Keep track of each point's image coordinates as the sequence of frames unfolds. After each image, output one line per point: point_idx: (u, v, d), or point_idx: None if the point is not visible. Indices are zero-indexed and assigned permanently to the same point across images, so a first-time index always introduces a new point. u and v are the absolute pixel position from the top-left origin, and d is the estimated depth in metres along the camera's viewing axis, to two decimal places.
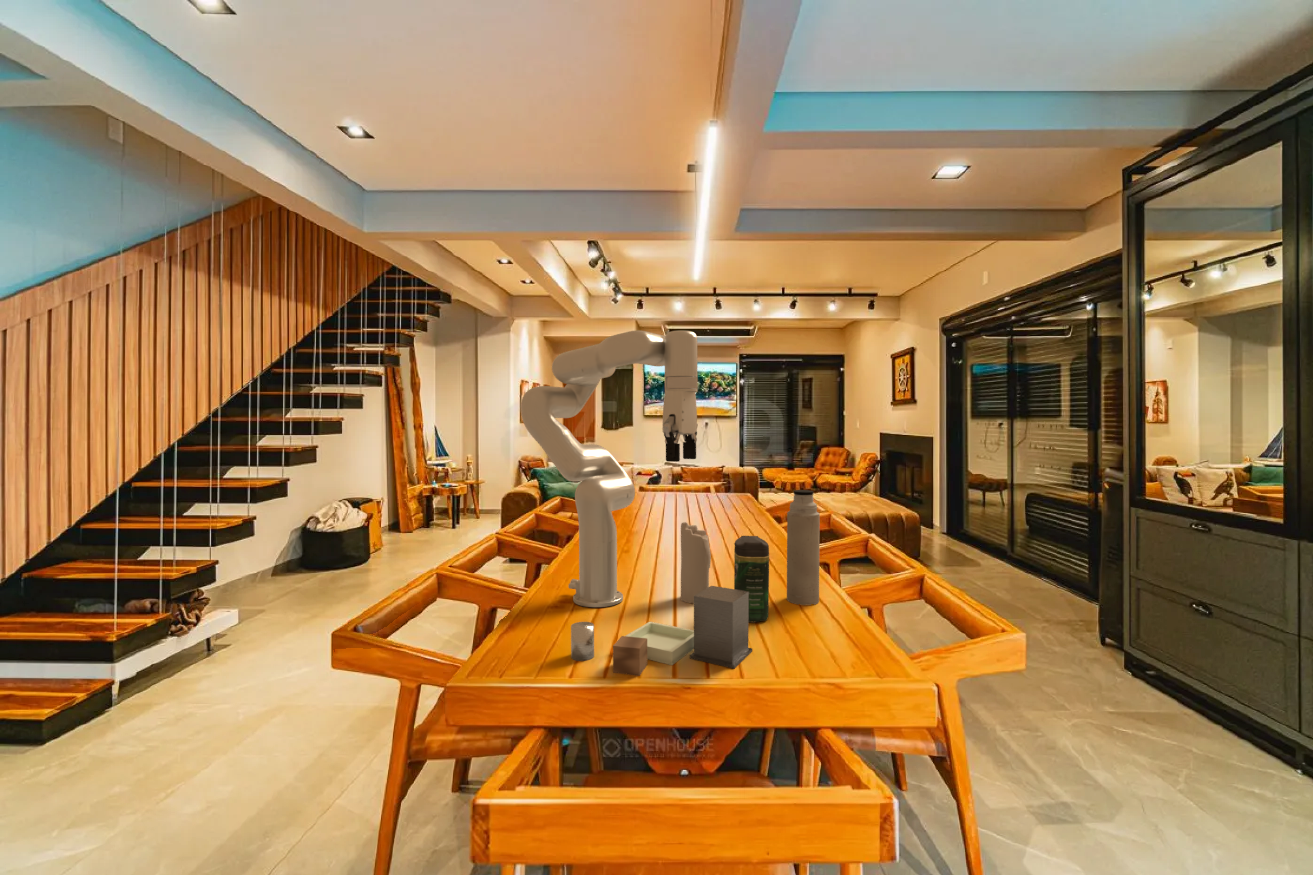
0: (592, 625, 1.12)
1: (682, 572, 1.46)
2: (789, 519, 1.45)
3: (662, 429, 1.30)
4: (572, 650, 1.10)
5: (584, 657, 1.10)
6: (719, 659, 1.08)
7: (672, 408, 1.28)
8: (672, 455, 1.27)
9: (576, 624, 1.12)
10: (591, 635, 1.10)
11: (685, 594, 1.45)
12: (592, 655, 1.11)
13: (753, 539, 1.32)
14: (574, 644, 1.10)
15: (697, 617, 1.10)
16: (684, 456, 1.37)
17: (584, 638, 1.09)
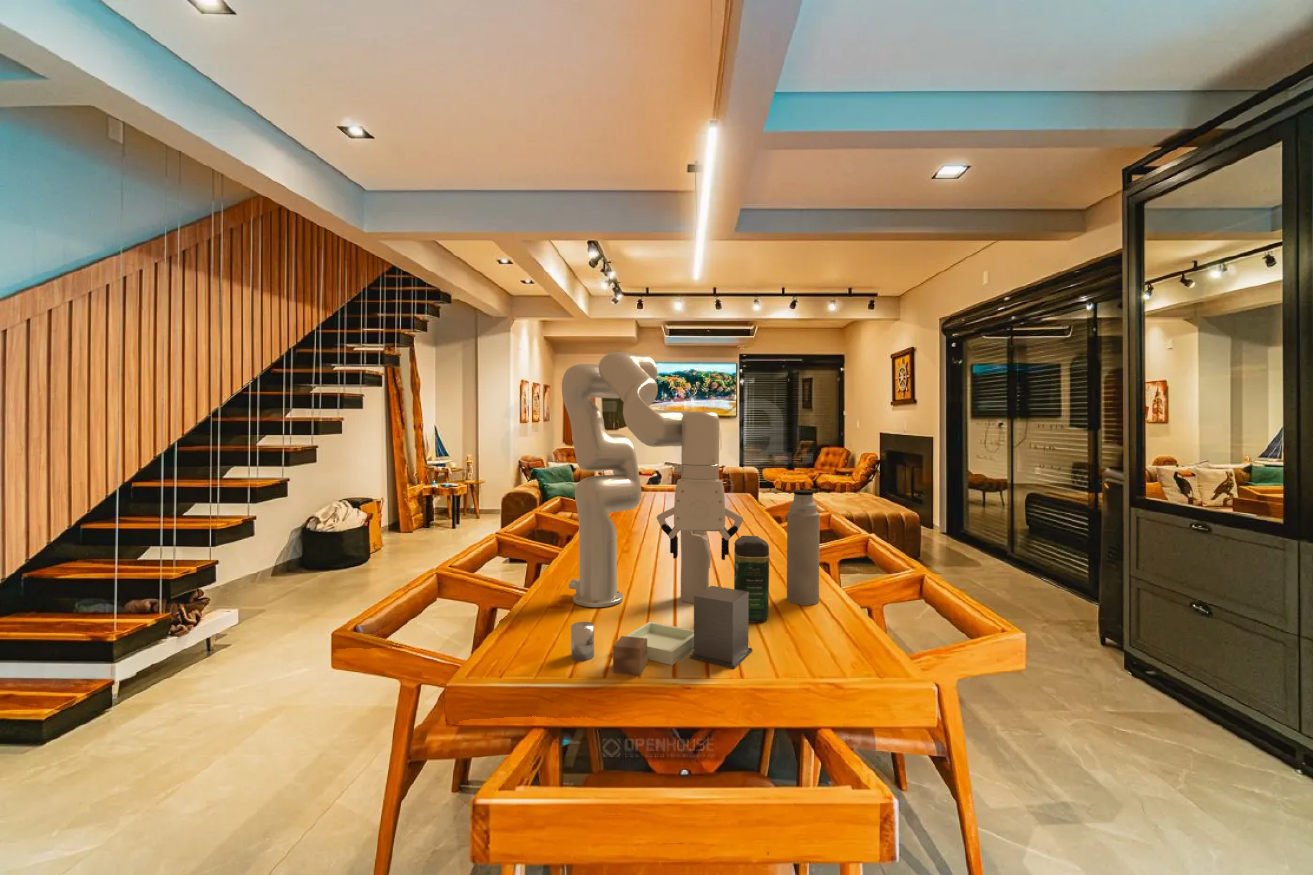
0: (592, 625, 1.12)
1: (682, 572, 1.46)
2: (789, 519, 1.45)
3: (722, 525, 1.13)
4: (572, 650, 1.10)
5: (584, 657, 1.10)
6: (719, 659, 1.08)
7: None
8: None
9: (576, 624, 1.12)
10: (591, 635, 1.10)
11: (685, 594, 1.45)
12: (592, 655, 1.11)
13: (753, 539, 1.32)
14: (574, 644, 1.10)
15: (697, 617, 1.10)
16: (676, 555, 1.16)
17: (584, 638, 1.09)
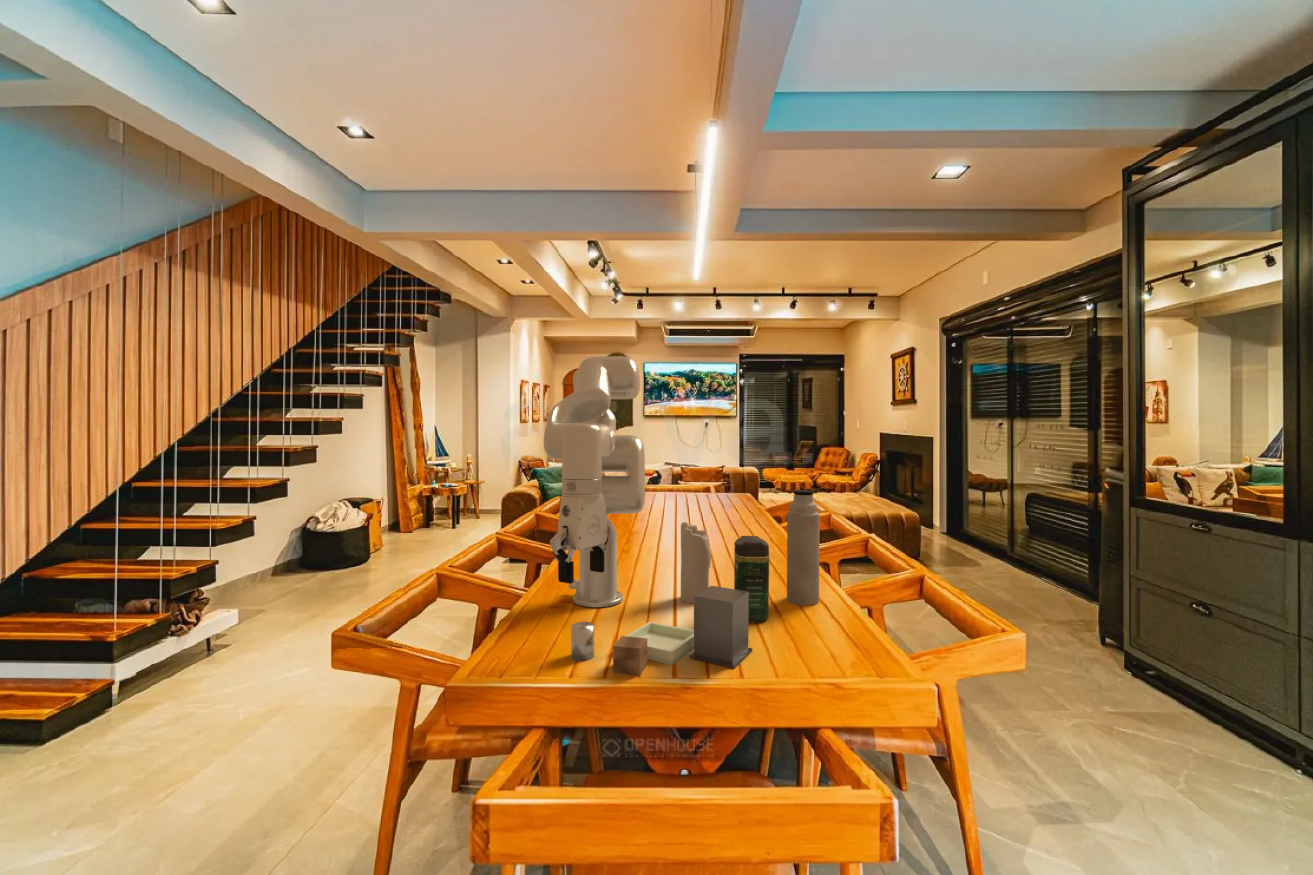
0: (592, 625, 1.12)
1: (682, 572, 1.46)
2: (789, 519, 1.45)
3: (607, 537, 1.13)
4: (572, 650, 1.10)
5: (584, 657, 1.10)
6: (719, 659, 1.08)
7: None
8: None
9: (576, 624, 1.12)
10: (591, 635, 1.10)
11: (685, 594, 1.45)
12: (592, 655, 1.11)
13: (753, 539, 1.32)
14: (574, 644, 1.10)
15: (697, 617, 1.10)
16: None
17: (584, 638, 1.09)
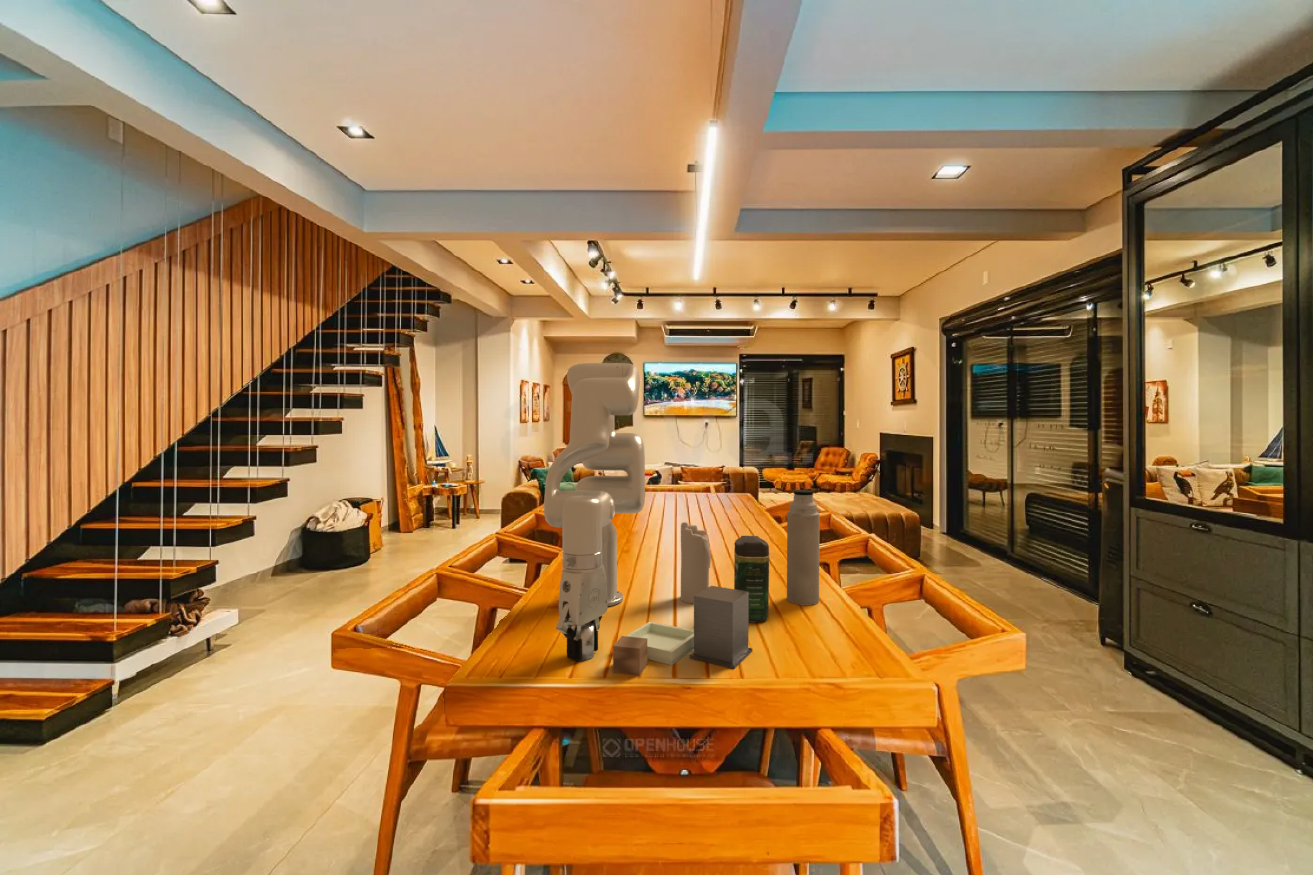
0: (592, 625, 1.12)
1: (682, 572, 1.46)
2: (789, 519, 1.45)
3: None
4: None
5: (584, 657, 1.10)
6: (719, 659, 1.08)
7: None
8: None
9: None
10: (591, 635, 1.10)
11: (685, 594, 1.45)
12: (592, 655, 1.11)
13: (753, 539, 1.32)
14: None
15: (697, 617, 1.10)
16: None
17: (584, 638, 1.09)
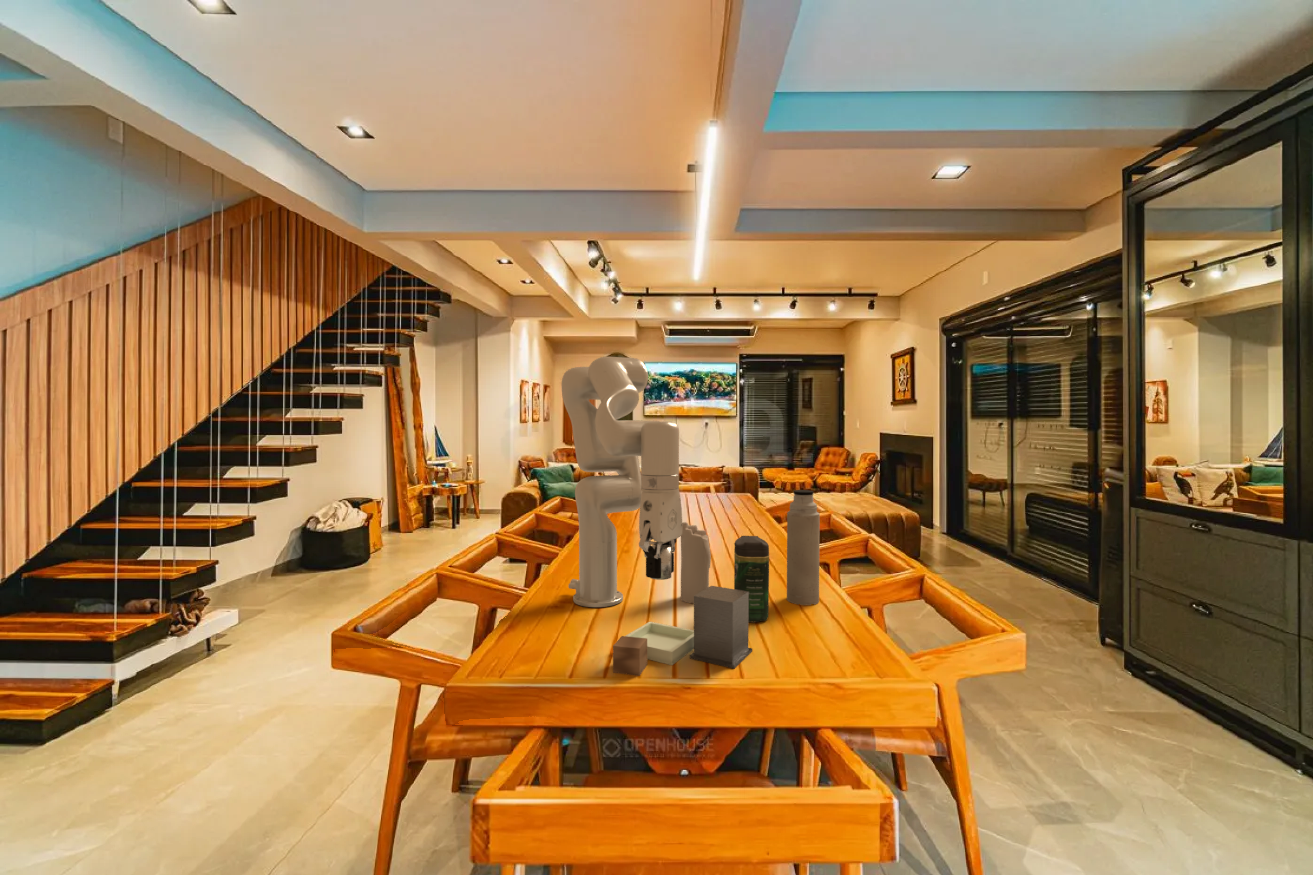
0: (669, 546, 1.15)
1: (682, 572, 1.46)
2: (789, 519, 1.45)
3: None
4: None
5: (663, 575, 1.13)
6: (719, 659, 1.08)
7: None
8: None
9: (654, 546, 1.16)
10: (669, 555, 1.14)
11: (685, 594, 1.45)
12: (670, 575, 1.14)
13: (753, 539, 1.32)
14: None
15: (697, 617, 1.10)
16: None
17: (663, 557, 1.13)
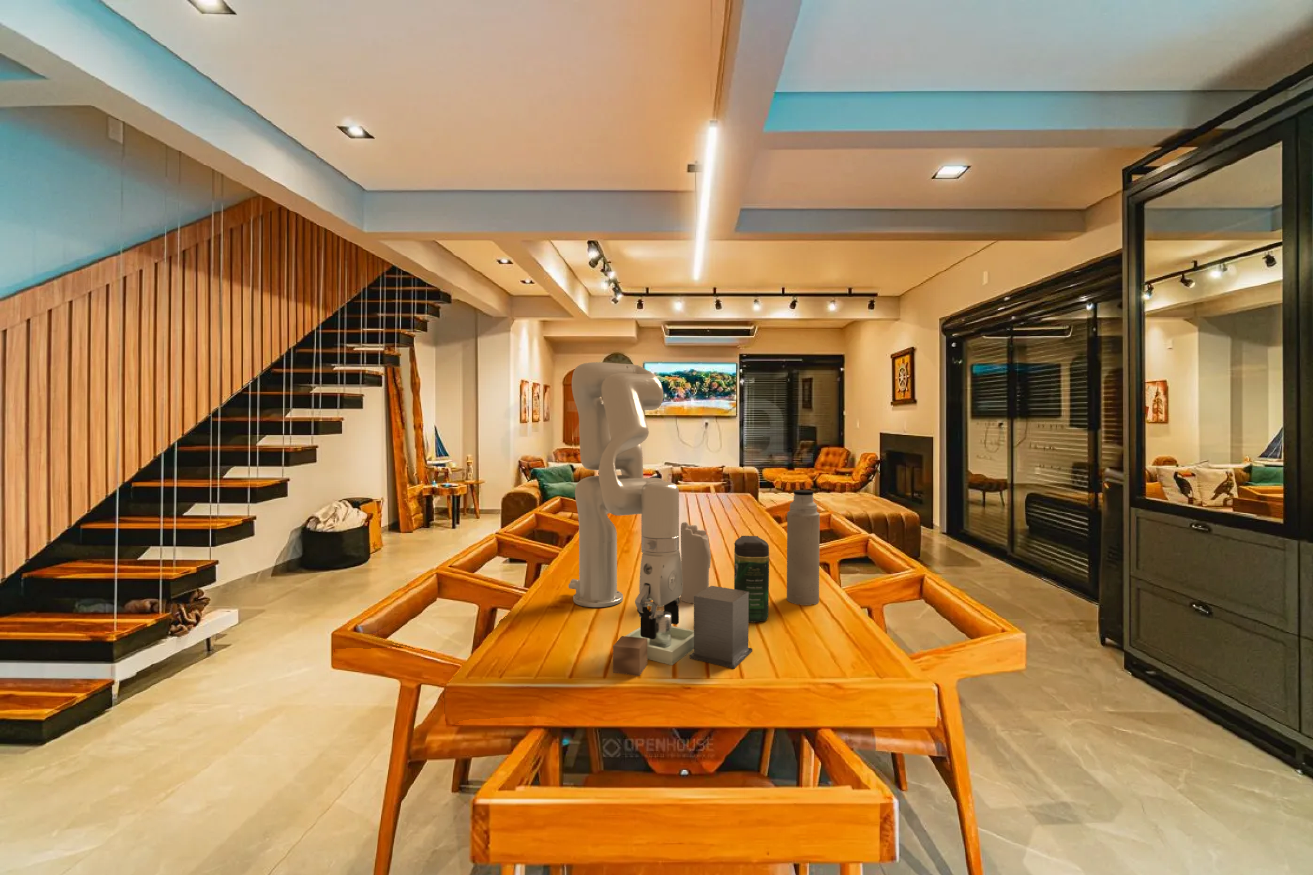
0: (669, 614, 1.16)
1: (682, 572, 1.46)
2: (789, 519, 1.45)
3: (682, 590, 1.18)
4: None
5: (663, 644, 1.14)
6: (719, 659, 1.08)
7: None
8: None
9: None
10: (669, 623, 1.14)
11: (685, 594, 1.45)
12: (670, 643, 1.15)
13: (753, 539, 1.32)
14: None
15: (697, 617, 1.10)
16: None
17: (663, 626, 1.14)
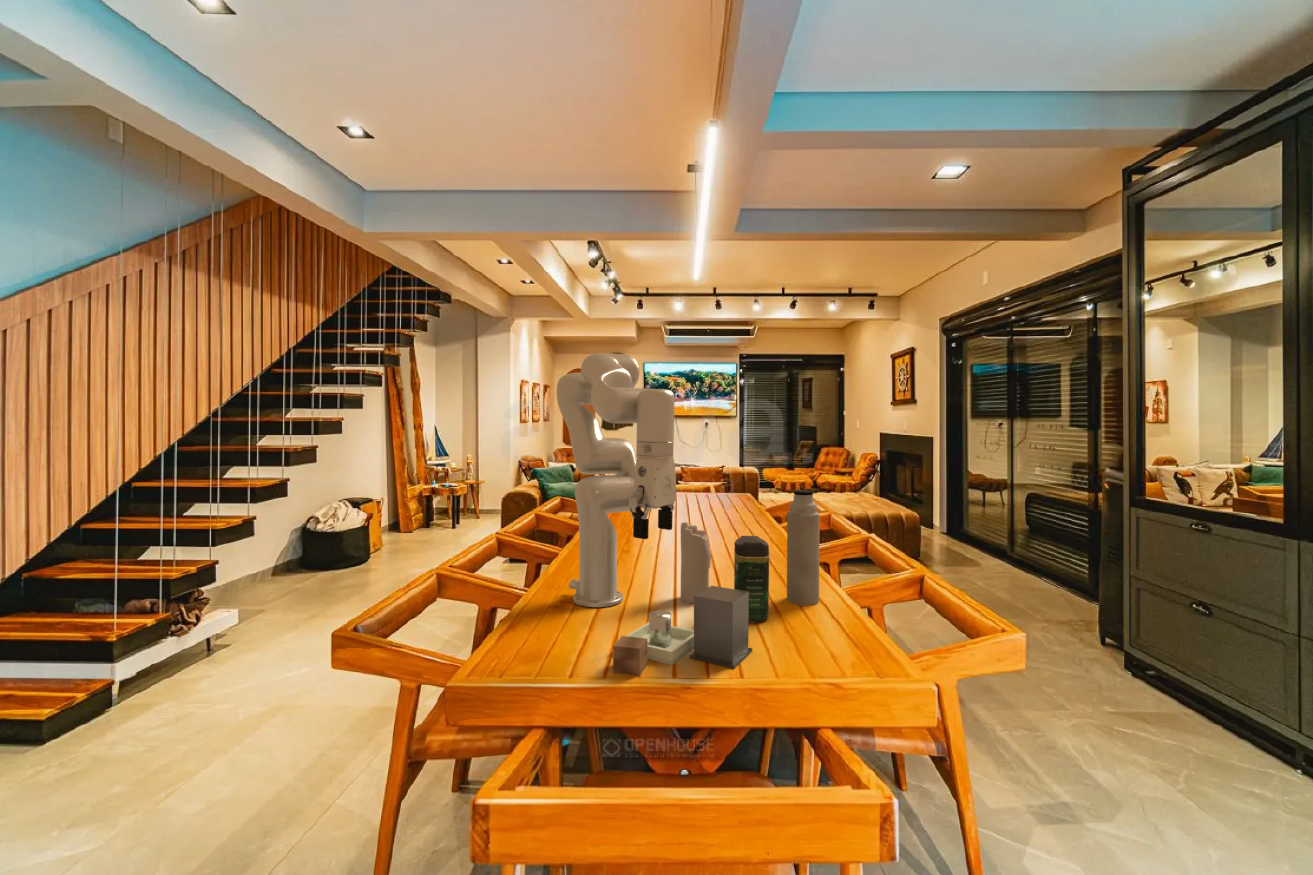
0: (669, 614, 1.16)
1: (682, 572, 1.46)
2: (789, 519, 1.45)
3: None
4: (651, 638, 1.15)
5: (663, 644, 1.14)
6: (719, 659, 1.08)
7: None
8: None
9: (653, 613, 1.16)
10: (669, 623, 1.14)
11: (685, 594, 1.45)
12: (670, 642, 1.15)
13: (753, 539, 1.32)
14: (653, 632, 1.14)
15: (697, 617, 1.10)
16: None
17: (663, 626, 1.13)
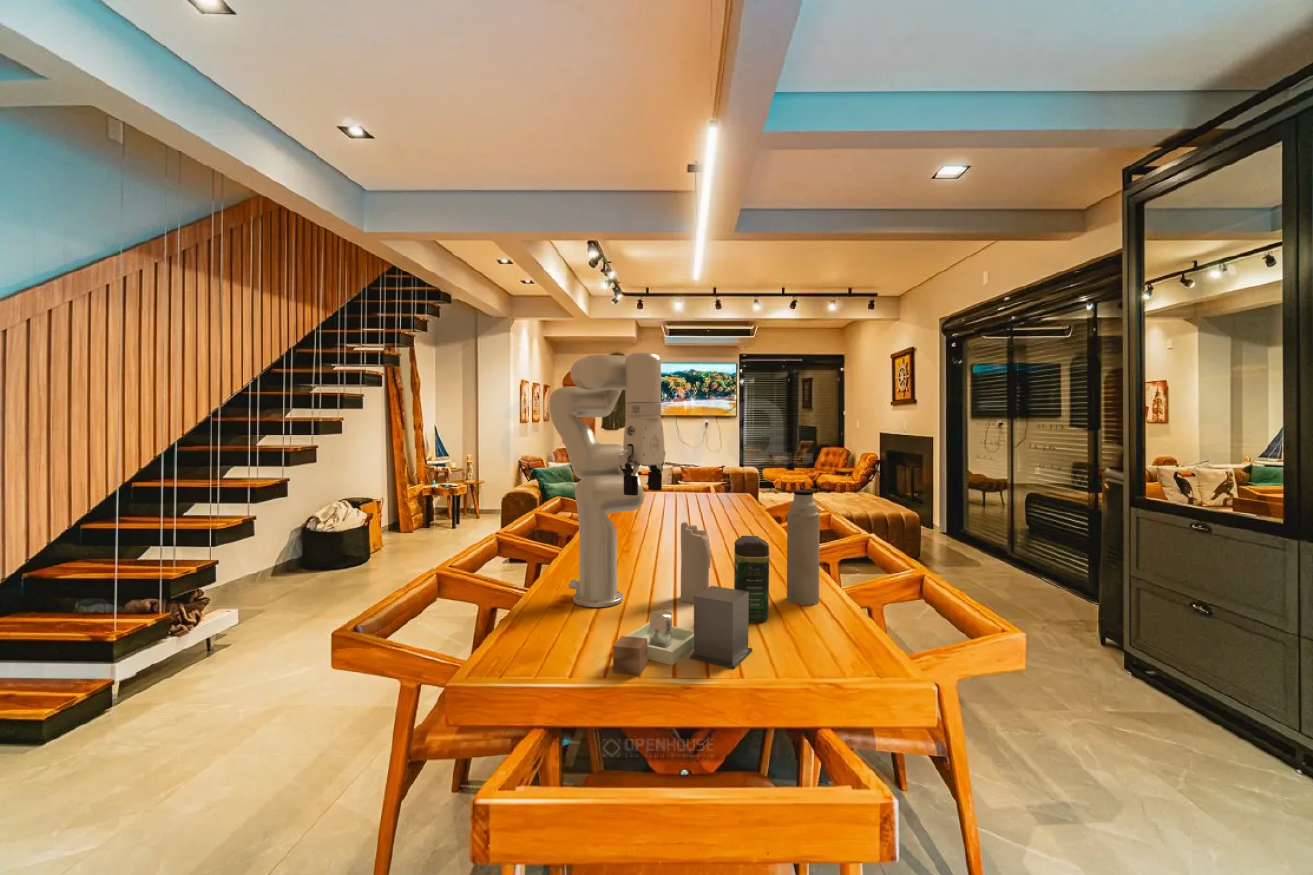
0: (670, 614, 1.16)
1: (682, 572, 1.46)
2: (789, 519, 1.45)
3: (664, 458, 1.25)
4: (651, 637, 1.15)
5: (663, 644, 1.14)
6: (719, 659, 1.08)
7: None
8: None
9: (654, 612, 1.16)
10: (670, 623, 1.14)
11: (685, 594, 1.45)
12: (670, 643, 1.15)
13: (753, 539, 1.32)
14: (653, 631, 1.14)
15: (697, 617, 1.10)
16: None
17: (663, 626, 1.14)
